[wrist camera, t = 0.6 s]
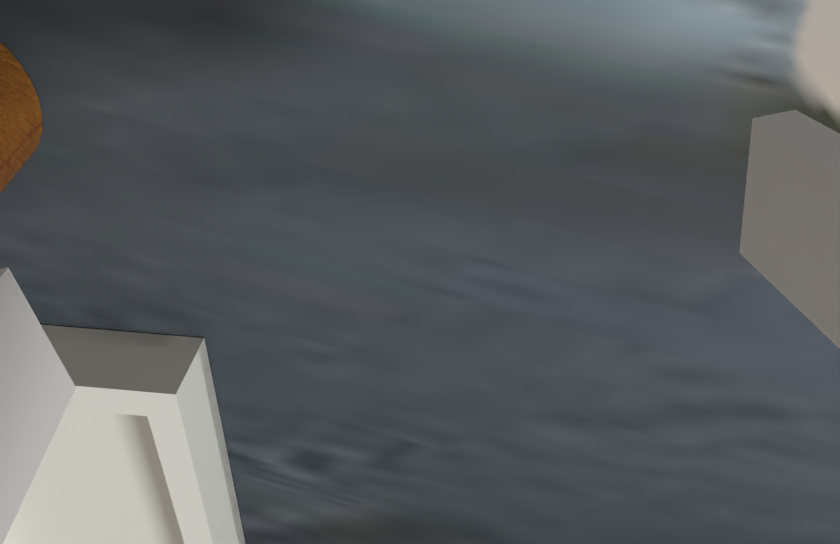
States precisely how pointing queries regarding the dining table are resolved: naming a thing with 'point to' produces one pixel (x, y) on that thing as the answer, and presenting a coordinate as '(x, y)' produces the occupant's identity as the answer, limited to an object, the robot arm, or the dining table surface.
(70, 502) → the tray
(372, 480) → the dining table surface
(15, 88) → the disposable coffee cup
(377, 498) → the dining table surface
